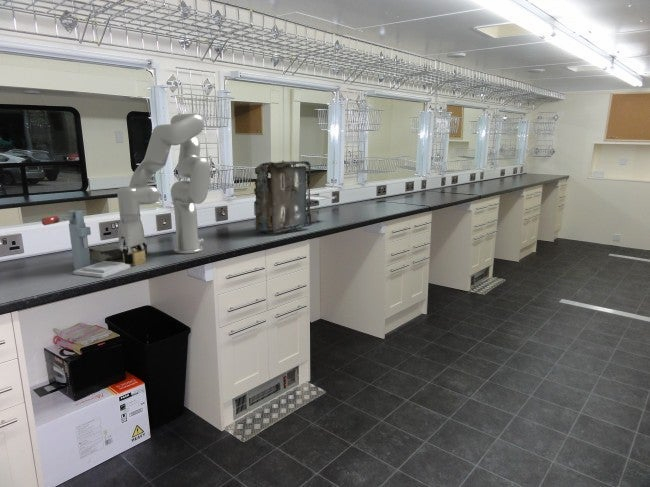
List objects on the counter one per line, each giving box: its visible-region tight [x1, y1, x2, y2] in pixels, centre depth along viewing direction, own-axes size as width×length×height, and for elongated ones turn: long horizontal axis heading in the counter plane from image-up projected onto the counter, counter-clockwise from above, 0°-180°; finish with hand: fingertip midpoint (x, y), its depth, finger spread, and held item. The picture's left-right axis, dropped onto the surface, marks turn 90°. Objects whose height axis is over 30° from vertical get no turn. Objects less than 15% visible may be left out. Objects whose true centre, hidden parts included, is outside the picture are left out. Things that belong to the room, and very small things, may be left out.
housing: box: [122, 248, 147, 267], centre depth 185 cm, size 6×6×6 cm
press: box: [67, 209, 131, 278], centre depth 173 cm, size 14×19×23 cm
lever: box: [41, 213, 76, 226], centre depth 168 cm, size 15×3×3 cm, turn 161°
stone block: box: [88, 243, 148, 262], centre depth 197 cm, size 14×20×5 cm
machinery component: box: [253, 160, 312, 235], centre depth 245 cm, size 33×18×38 cm, turn 133°
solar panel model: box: [306, 193, 336, 223], centre depth 279 cm, size 28×17×15 cm, turn 53°
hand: (134, 261), depth 185 cm, fingers closed on housing, 6 cm apart
